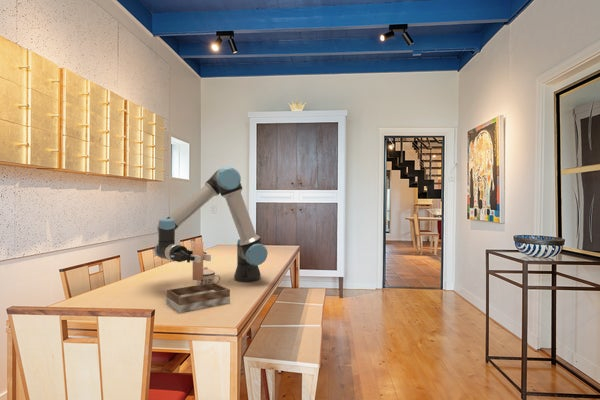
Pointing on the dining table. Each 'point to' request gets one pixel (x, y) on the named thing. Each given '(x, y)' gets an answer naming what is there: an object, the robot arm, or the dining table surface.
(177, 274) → the dining table surface
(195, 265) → the peg
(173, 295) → the box
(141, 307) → the dining table surface
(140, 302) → the dining table surface
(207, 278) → the teacup with lid
